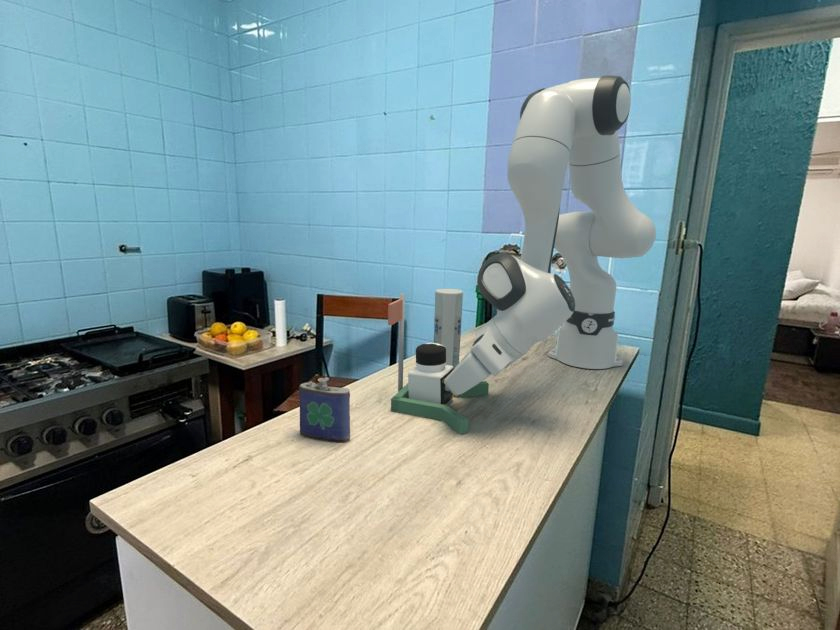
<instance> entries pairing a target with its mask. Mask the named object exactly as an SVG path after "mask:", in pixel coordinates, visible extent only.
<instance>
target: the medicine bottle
mask: <svg viewBox="0 0 840 630" xmlns="http://www.w3.org/2000/svg"><path fill="white" fill-rule="evenodd" d="M415 366H416V367H414V368H412V369H411V370H410V371H409V372H408V373H407V381H408V382H407V383H408V391H409V399H413V400H419V401H425V402H430V403H436V404H442V405H445V406H448V404H449V403H450V402H452V400H453V399H454V398H455V397H454V394H453V393H452V392H451V391H450V390H448V391H446V390H445V383H444V380H445V379H446V377H447V376H448V375H449V374H450V373H451V372H452V371H453V370H454V369H453V366H450V365H446V348H445V347H444V346H443V345H441V344H437V343H434V342H427V343H421V344H419V345H417V346H416V348H415Z"/></svg>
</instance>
